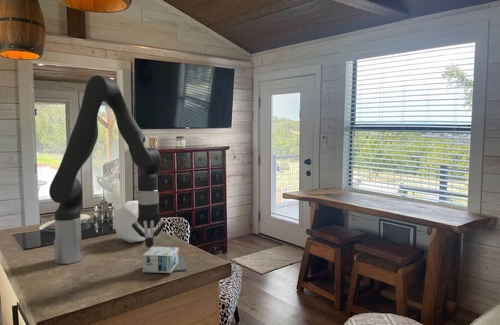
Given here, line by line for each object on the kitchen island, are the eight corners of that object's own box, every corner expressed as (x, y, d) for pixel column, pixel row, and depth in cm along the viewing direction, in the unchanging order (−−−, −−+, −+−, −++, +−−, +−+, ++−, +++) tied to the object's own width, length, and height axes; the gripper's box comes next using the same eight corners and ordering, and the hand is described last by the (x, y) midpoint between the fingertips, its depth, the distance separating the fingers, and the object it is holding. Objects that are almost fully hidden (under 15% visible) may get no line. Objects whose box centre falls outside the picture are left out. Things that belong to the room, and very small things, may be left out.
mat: (153, 273, 143) (153, 271, 143) (154, 260, 156) (154, 258, 156) (186, 270, 145) (186, 269, 145) (184, 258, 159) (184, 256, 159)
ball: (132, 258, 178) (109, 231, 166) (122, 233, 193) (101, 206, 181) (168, 235, 182) (149, 207, 170) (156, 213, 197) (137, 185, 185)
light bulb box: (142, 272, 141) (171, 273, 141) (141, 254, 141) (171, 255, 140) (151, 262, 152) (179, 263, 151) (151, 245, 151) (179, 246, 151)
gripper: (129, 204, 141) (130, 251, 142) (166, 203, 143) (167, 248, 145) (130, 200, 148) (132, 245, 150) (166, 199, 151) (167, 243, 152)
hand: (149, 247), depth 147 cm, fingers closed
